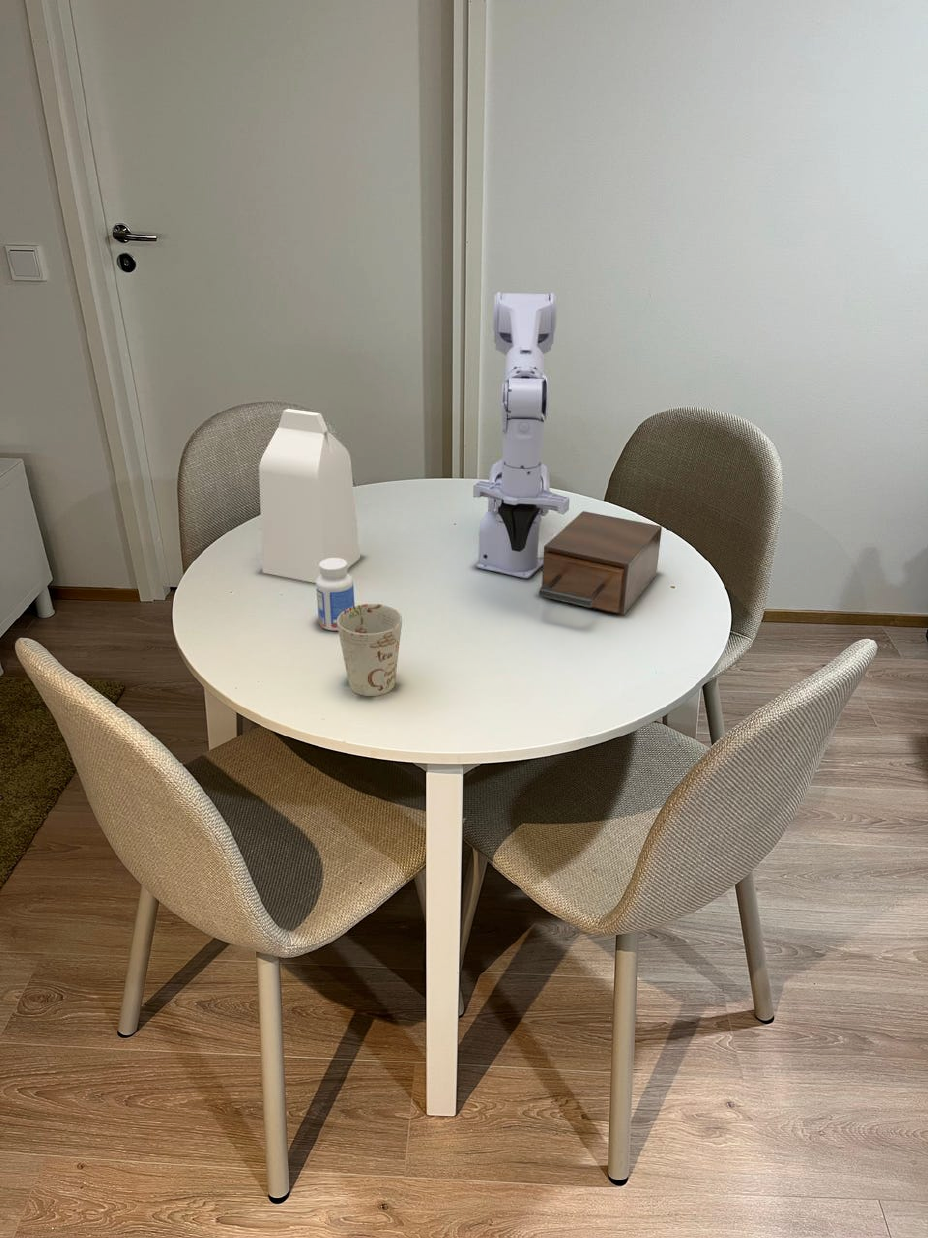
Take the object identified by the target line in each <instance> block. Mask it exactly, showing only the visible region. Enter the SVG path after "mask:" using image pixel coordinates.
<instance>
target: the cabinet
mask: <svg viewBox="0 0 928 1238" xmlns="http://www.w3.org/2000/svg"><path fill="white" fill-rule="evenodd" d="M662 531H663V526H662V525H657V524H653V523H652V524H651V523H647V522H642V521H638V520H632V519H626V518H621V517H616V516H610V515H605V514H601V513H596V512H590V511H585V510H583V511H582V512H580V513H579V514H578V515H577V516H576V517H574V519H573V520H572V521H570V522H569V523H568V524H567V525H565V527H564V528H562V529H561V530H560V531H559V532H558V533H557V534H556V535H555V536H554V537H552V539H551V540H549V541H548V542H547V543H546V544H545V545H544V546H543V556H544V555H545V554H546V553H551V554H555V553H556V554H561V555H565V556H570V557H575V558H579V559H584V560H589V561H593V562H598V563H603V564H607V565H612V566H617V567H621V568H623V569H624V575H623V585H622V595H621V605H620V610H619V611H618V612H613V611H609V610H605V609H600V608H596V607H592V606H591V607H589V608H590V609H595V610H599V611H604V612H608V613H611V614H617V615H620V616H625V614H626V613H627V612H628V611H629V609H630V608H631V606H632V605H633V604H634V603H635V602H636V601H637V599H638V598H639V596H641V594H642V593H643V592H644V590H645V589H646V588H647V587H648V585H649V584H650V583H651V582H652V580H653V579H654V578H655V576H656V575H657V574H658V564H659V557H660V556H659V555H660V548H661V539H662ZM542 558H543V565H542V571H543V570H544V557H542ZM541 577H542V579H541V587H543V575H542V576H541Z"/></svg>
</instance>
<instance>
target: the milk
mask: <svg viewBox="0 0 928 1238" xmlns="http://www.w3.org/2000/svg"><path fill="white" fill-rule="evenodd" d="M351 461H352V460H351V455H350V453H349V450H348V449H347V448H346V447H345V446H344V444H342V443H341V442H340V441H339V440H338V439H337V438H336V437H335V436H334V435H333V434H332V433H331V432H330V431H329V429H328V427H327V424H326V422H325V420H324V418H323V414H322V413H321V412H314V411H306V410H299V409H292V408H287V409H285V410H283V411H282V414H281V417H280V421H279V423H278V427H277V429H276V430H275V432H274V434H273V435H272V438H271V439H270V441H269V443H268V444H267V447H266V448H265V450H264V451H263V454H262V456H261V458H260V461H259V465H258V477H259V507H260V508H259V509H260V536H261V537H260V538H261V565H262V567H261V569H262V573H263V574H268V575H274V576H278V577H283V578H287V579H288V578H289V579H294V580H298V581H303V582H308V583H314V584H316V580H317V578H318V577H319V576H320V575H321V574H320V571H319V564H320V562H321V561H323V560H325V559H329V558H341V559H344V560H345V561H346V562H347V568H348V569H349V568H350V567H351V566H352V565H354V564H355V563H356V562H357V561H358V560H360V559H361V552H360V551H361V550H360V542H359V541H360V540H359V531H358V522H357V521H358V520H357V511H356V501H355V500H356V499H355V492H354V481H353V472H352V471H353V470H352V462H351Z"/></svg>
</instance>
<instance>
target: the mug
mask: <svg viewBox="0 0 928 1238" xmlns="http://www.w3.org/2000/svg"><path fill="white" fill-rule="evenodd" d="M337 626H338V631H337V632H338V636H339V641H340V646H341V650H342V655H343V661H344V667H345V669H346V670H345V671H346V676H347V681H348V685H349V688H350V689H351V691H353V693H355V694H357V695H360V696H364V697H377V696H383V695H385V694H387V693H389V692H390V691H392V690H393V689H394V687H395V685H396V679H397V678H396V676H397V669H398V660H399V652H400V645H401V635H402V626H403V616H402V614H401V612H399V610H397V609H395V608H394V607H393V606H389V605H385V604H380V603H365V604H364V603H363V604H358V605H355V606H353V607H350V608H348V609H346V610H344V611H343V612H342V613H341V614H340V615H339V616H338V618H337Z"/></svg>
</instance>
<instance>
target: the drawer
mask: <svg viewBox="0 0 928 1238" xmlns="http://www.w3.org/2000/svg"><path fill="white" fill-rule="evenodd" d="M543 558H544V570H543V569H542V576H543V587H542V586H541V587H540V588H539V592H538V595H539V596H540V597H544V598H548V599H553V600H557V601H559V602H560V601H561V602H563V603H564V602H565V603H569V604H573V605H578V606H583V607H586V608H590V607H591V606H592V607H596V608H600V609H605V610H609V611H613V612H618V611H619V610H620V605H621V595H622V585H623V575H624V569H623V568H621V567H617V566H616V567H612V566H607V565H602V564H598V563H593V562H588V561H584V560H579V559H577V558H575V557H570V556H565V555H561V554H556V553H555V554H551V553H546V554H545V555H544V554H543Z"/></svg>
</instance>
